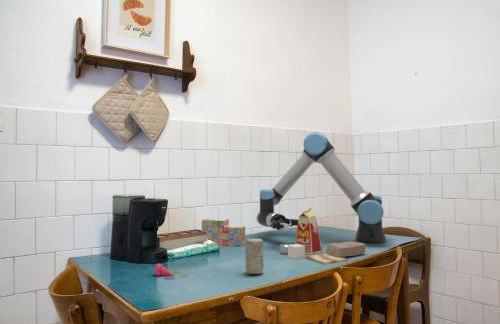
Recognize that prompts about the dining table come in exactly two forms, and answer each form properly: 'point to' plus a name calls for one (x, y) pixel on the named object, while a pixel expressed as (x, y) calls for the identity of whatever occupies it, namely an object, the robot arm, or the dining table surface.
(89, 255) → the dining table surface
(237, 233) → the stack of blocks
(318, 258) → the plate
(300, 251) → the white cube
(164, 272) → the toy pieces
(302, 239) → the milk carton
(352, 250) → the brick
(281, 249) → the grey tin
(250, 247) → the carving
